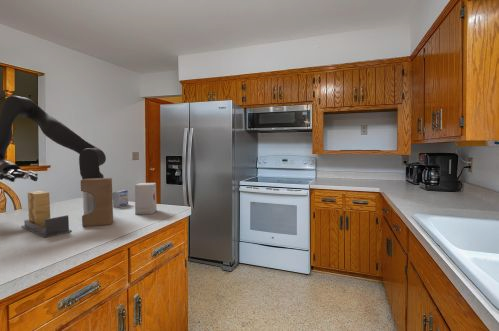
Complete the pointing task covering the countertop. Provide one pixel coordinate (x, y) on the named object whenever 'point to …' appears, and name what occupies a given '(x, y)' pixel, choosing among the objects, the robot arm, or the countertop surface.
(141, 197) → the supplement box
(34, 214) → the slider block
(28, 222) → the metal track
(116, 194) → the medicine box
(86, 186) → the decorative block
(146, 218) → the countertop surface
